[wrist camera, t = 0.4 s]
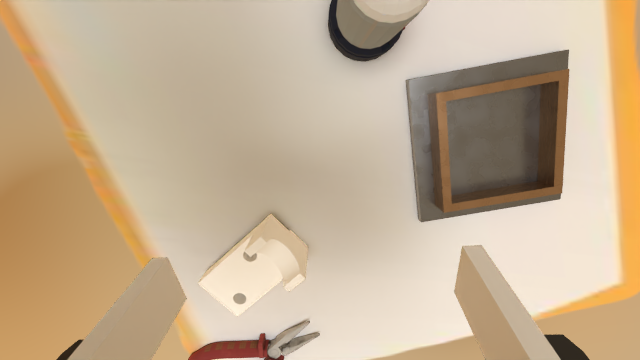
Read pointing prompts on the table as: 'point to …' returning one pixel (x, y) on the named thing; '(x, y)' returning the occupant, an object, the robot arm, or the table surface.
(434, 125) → the fitting nest
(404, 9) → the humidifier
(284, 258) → the bracket
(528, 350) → the robot arm
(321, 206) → the table surface
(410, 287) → the table surface
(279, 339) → the pliers
